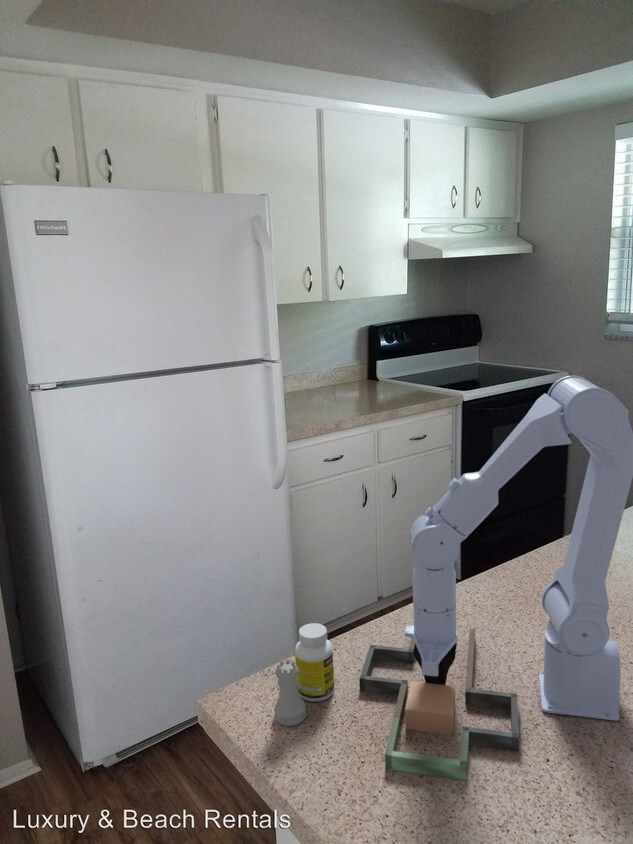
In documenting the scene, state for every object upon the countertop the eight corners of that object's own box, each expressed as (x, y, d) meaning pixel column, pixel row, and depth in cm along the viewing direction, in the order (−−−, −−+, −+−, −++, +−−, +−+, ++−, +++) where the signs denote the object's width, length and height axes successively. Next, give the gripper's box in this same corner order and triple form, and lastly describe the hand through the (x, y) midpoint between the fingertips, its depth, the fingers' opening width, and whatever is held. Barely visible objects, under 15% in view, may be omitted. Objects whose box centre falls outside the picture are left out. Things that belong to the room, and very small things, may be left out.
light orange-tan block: (455, 705, 89) (455, 686, 88) (452, 735, 83) (452, 715, 83) (411, 700, 91) (411, 681, 90) (405, 729, 85) (405, 709, 84)
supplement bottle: (331, 704, 90) (327, 642, 88) (293, 701, 92) (288, 639, 89) (337, 680, 96) (334, 621, 93) (302, 678, 97) (297, 619, 94)
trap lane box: (514, 644, 102) (514, 632, 102) (520, 789, 74) (520, 774, 74) (378, 631, 108) (378, 620, 107) (337, 761, 80) (336, 747, 80)
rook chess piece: (282, 732, 86) (278, 679, 84) (269, 713, 90) (264, 662, 88) (312, 720, 88) (309, 668, 86) (298, 702, 91) (294, 651, 90)
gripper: (411, 575, 95) (413, 657, 98) (397, 628, 82) (400, 721, 85) (460, 579, 93) (461, 662, 96) (453, 633, 80) (454, 728, 83)
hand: (436, 690), depth 91 cm, fingers closed
